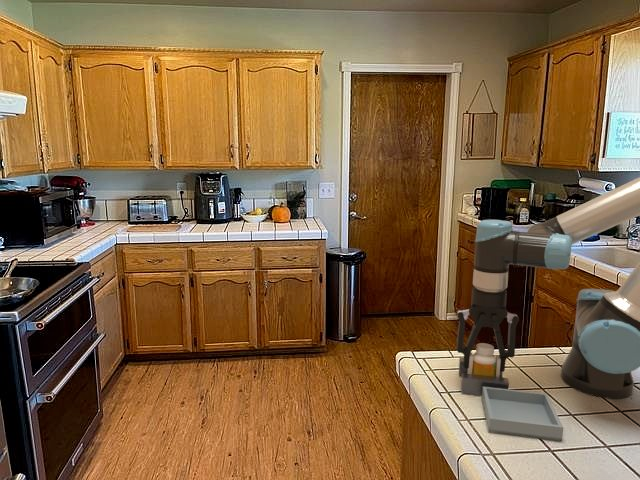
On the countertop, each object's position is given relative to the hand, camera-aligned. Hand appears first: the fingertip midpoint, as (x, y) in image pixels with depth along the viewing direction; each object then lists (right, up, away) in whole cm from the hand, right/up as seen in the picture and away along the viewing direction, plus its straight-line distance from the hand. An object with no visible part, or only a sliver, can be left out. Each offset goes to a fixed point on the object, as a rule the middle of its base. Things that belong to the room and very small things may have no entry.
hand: (482, 381), depth 114 cm
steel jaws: (0, -1, 0) cm, 1 cm away
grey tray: (+3, -4, -14) cm, 15 cm away
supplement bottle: (0, -1, 0) cm, 1 cm away
